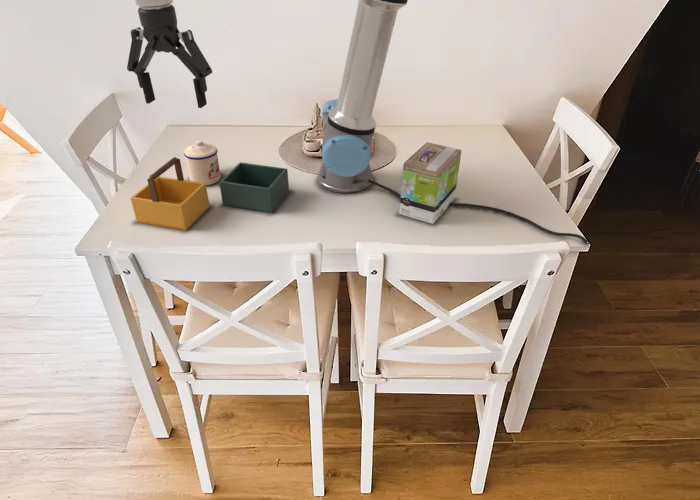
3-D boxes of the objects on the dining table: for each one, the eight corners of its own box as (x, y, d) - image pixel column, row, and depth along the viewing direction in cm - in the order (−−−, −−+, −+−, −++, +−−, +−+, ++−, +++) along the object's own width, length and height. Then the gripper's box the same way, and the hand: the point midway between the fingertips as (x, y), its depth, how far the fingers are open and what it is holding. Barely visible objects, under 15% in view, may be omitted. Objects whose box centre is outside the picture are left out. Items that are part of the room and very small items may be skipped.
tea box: (434, 225, 134) (440, 171, 125) (398, 215, 138) (401, 162, 129) (455, 199, 145) (462, 148, 136) (421, 190, 149) (425, 140, 140)
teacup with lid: (215, 187, 150) (209, 148, 143) (184, 185, 151) (176, 147, 144) (228, 168, 160) (223, 131, 153) (199, 166, 161) (192, 129, 154)
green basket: (289, 191, 148) (287, 168, 144) (271, 213, 139) (269, 189, 135) (242, 184, 151) (239, 162, 147) (222, 205, 142) (219, 182, 138)
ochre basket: (209, 206, 142) (201, 159, 134) (186, 230, 132) (175, 181, 124) (163, 199, 145) (152, 152, 137) (136, 222, 135) (123, 173, 128)
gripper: (217, 4, 114) (232, 102, 126) (115, 0, 119) (139, 94, 132) (200, 11, 108) (217, 113, 120) (93, 7, 113) (120, 105, 126)
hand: (176, 103), depth 126 cm, fingers open, 13 cm apart
